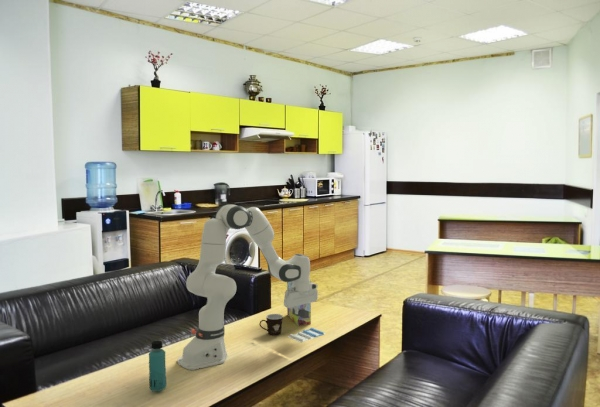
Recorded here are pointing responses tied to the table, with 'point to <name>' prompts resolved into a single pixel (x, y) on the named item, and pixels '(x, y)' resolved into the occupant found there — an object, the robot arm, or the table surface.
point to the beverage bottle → (157, 367)
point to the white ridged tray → (306, 335)
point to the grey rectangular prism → (301, 313)
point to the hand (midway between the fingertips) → (300, 313)
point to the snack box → (298, 319)
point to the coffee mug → (273, 324)
